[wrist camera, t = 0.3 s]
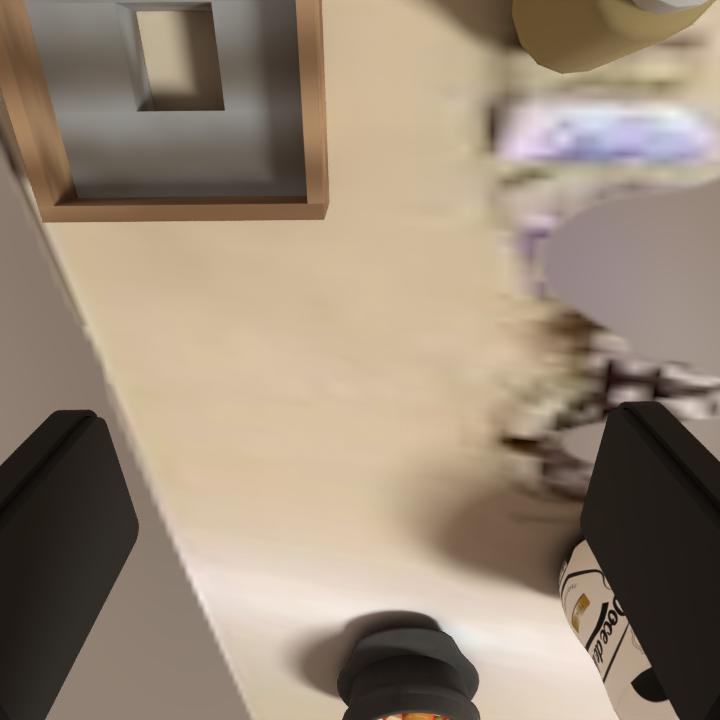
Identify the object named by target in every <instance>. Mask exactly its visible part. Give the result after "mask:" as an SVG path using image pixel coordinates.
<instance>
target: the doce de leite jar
mask: <svg viewBox="0 0 720 720" xmlns="http://www.w3.org/2000/svg"><path fill="white" fill-rule="evenodd" d="M559 592H560V598H561V602H562V606H563V610H564V613H565V615H566V618H567V620H568V623H569V625H570V627H571V629H572V630H573V632H574V634H575V635H576V637H577V638H578V640H579V641H580V642H581V644H582V645H583V646H584V648H585V649H586V650H587V652H588V653H589V655H590V656H591V658H592V659H593V661H594V663H595V665H596V667H597V669H598V671H599V673H600V676H601V678H602V681H603V683H604V686H605V688H606V691H607V694H608V696H609V699H610V701H611V704H612V706H613V709H614V711H615V712H616V714H617V716H618V717H619V719H620V720H679V718H678V717H677V715H676V713H675V711H674V709H673V707H672V705H671V703H670V701H669V699H668V697H667V695H666V693H665V692H664V690H663V688H662V686H661V684H660V682H659V680H658V678H657V676H656V674H655V672H654V670H653V668H652V666H651V665H650V663H649V661H648V659H647V657H646V655H645V653H644V651H643V649H642V647H641V645H640V643H639V641H638V639H637V638H636V636H635V634H634V632H633V630H632V628H631V626H630V624H629V622H628V620H627V618H626V616H625V614H624V612H623V611H622V609H621V607H620V605H619V603H618V601H617V599H616V597H615V595H614V593H613V591H612V589H611V587H610V585H609V584H608V582H607V580H606V578H605V576H604V574H603V572H602V570H601V568H600V566H599V564H598V562H597V560H596V558H595V557H594V555H593V553H592V551H591V549H590V547H589V545H588V543H587V541H586V539H585V538H584V539H583V540H582V541H580V542H579V543H578V544H577V545H576V546H575V547H574V548H573V549H572V550H571V551H570V553H569V554H568V555H567V557H566V558H565V560H564V561H563V564H562V566H561V571H560V575H559Z"/></svg>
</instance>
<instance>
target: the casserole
mask: <svg viewBox="0 0 720 720" xmlns="http://www.w3.org/2000/svg"><path fill="white" fill-rule="evenodd" d="M478 685H479V677H478V673H477V671H476V669H475V667H474V666H473V665H472V664H471V663H470V662H469V660H468V659H467V658H466V657H465V656H464V655H463V654H462V653H461V652H460V650H459V648H458V646H457V645H456V643H455V641H454V640H453V638H452V637H451V636H449V635H448V634H446V633H445V632H442V631H439V630H435V629H430V628H422V627H399V628H391V629H385V630H381V631H377V632H374V633H371V634H369V635H366V636H364V637H363V638H361V639H360V640H359V641H358V642H357V643H356V645H355V648H354V650H353V653H352V656H351V659H350V660H349V662H348V663H347V664H346V666H345V667H344V669H343V670H342V671H341V673H340V675H339V678H338V681H337V689H338V692H339V695H340V697H341V698H342V700H343V701H344V702H345V704H346V705H347V706H348V707H349V708H348V709H347V710H346V712H345V714H344V716H343V719H342V720H480V714H479V711H478V709H477V707H476V706H475V705H474V704H473V703H472V702H471V700H472V699H473V697H474V695H475V693H476V692H477V690H478Z"/></svg>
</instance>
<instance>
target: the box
mask: <svg viewBox="0 0 720 720" xmlns="http://www.w3.org/2000/svg"><path fill="white" fill-rule="evenodd" d="M136 11H212V12H213V20H214V28H215V36H216V44H217V51H218V59H219V67H220V75H221V83H222V91H223V99H224V107H225V110H194V111H154V106H153V101H152V95H151V90H150V85H149V79H148V74H147V69H146V63H145V58H144V53H143V47H142V42H141V37H140V31H139V26H138V21H137V15H136ZM0 88H1V91H2V94H3V98H4V101H5V104H6V107H7V110H8V113H9V117H10V120H11V123H12V126H13V129H14V132H15V136H16V139H17V142H18V145H19V148H20V151H21V155H22V158H23V161H24V164H25V167H26V170H27V174H28V177H29V180H30V183H31V186H32V190H33V193H34V196H35V199H36V202H37V205H38V209H39V212H40V215H41V218H42V221H43V222H143V221H242V220H324V219H325V215H326V212H327V209H328V205H329V180H328V154H327V128H326V102H325V75H324V49H323V23H322V0H0Z"/></svg>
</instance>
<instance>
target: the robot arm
mask: <svg viewBox="0 0 720 720" xmlns="http://www.w3.org/2000/svg"><path fill="white" fill-rule="evenodd" d="M581 529H582V533H583V535H584V537H585V539H586V541H587V543H588V545H589V547H590V549H591V551H592V553H593V555H594V557H595V558H596V560H597V562H598V564H599V566H600V568H601V570H602V572H603V574H604V576H605V578H606V580H607V582H608V584H609V585H610V587H611V589H612V591H613V593H614V595H615V597H616V599H617V601H618V603H619V605H620V607H621V609H622V611H623V612H624V614H625V616H626V618H627V620H628V622H629V624H630V626H631V628H632V630H633V632H634V634H635V636H636V638H637V639H638V641H639V643H640V645H641V647H642V649H643V651H644V653H645V655H646V657H647V659H648V661H649V663H650V665H651V666H652V668H653V670H654V672H655V674H656V676H657V678H658V680H659V682H660V684H661V686H662V688H663V690H664V692H665V693H666V695H667V697H668V699H669V701H670V703H671V705H672V707H673V709H674V711H675V713H676V715H677V717H678V718H679V720H720V462H719V461H718V460H717V459H716V458H715V457H714V456H713V455H712V454H711V453H710V452H709V451H708V450H707V449H706V448H705V447H704V446H703V445H702V444H701V443H700V442H699V441H698V440H697V439H696V438H695V437H694V436H693V435H692V434H691V433H690V432H689V431H688V430H687V429H686V428H685V427H684V426H683V425H682V424H681V423H680V422H679V421H678V420H677V419H676V418H675V417H674V416H673V415H672V414H671V413H670V412H669V411H668V410H667V409H666V408H665V407H664V406H663V405H662V404H660V403H659V402H655V401H640V402H623V403H621V404H620V405H619V406H618V408H617V410H612V411H611V412H610V413H609V415H608V418H607V422H606V425H605V429H604V433H603V436H602V440H601V444H600V447H599V451H598V455H597V458H596V462H595V465H594V469H593V473H592V476H591V480H590V484H589V487H588V491H587V495H586V498H585V502H584V506H583V509H582V513H581ZM138 530H139V524H138V519H137V516H136V513H135V510H134V507H133V504H132V501H131V498H130V495H129V491H128V489H127V485H126V482H125V479H124V476H123V473H122V470H121V467H120V464H119V461H118V457H117V454H116V451H115V448H114V446H113V442H112V439H111V436H110V433H109V430H108V427H107V424H106V422H105V420H104V419H102V418H100V417H97V415H96V414H95V413H94V412H93V411H91V410H58V411H55V412H54V413H53V414H51V415H50V416H49V417H48V418H47V419H46V420H45V421H44V422H43V423H42V424H41V425H40V426H39V427H38V428H37V429H36V430H35V432H33V433H32V434H31V435H30V436H29V437H28V438H27V439H26V440H25V441H24V442H23V443H22V444H21V445H20V446H19V447H18V448H17V450H15V451H14V453H12V455H11V456H10V457H9V458H8V459H7V460H6V461H5V462H4V463H3V464H2V465H1V466H0V720H45V719H46V717H47V714H48V713H49V711H50V709H51V707H52V705H53V703H54V701H55V699H56V697H57V695H58V693H59V691H60V689H61V687H62V685H63V683H64V681H65V679H66V677H67V676H68V674H69V672H70V670H71V668H72V666H73V664H74V662H75V659H76V658H77V656H78V654H79V652H80V650H81V648H82V646H83V644H84V642H85V640H86V638H87V636H88V634H89V632H90V630H91V628H92V626H93V625H94V623H95V621H96V619H97V617H98V615H99V613H100V610H101V609H102V607H103V605H104V603H105V601H106V599H107V597H108V595H109V593H110V591H111V589H112V587H113V585H114V583H115V581H116V579H117V577H118V575H119V574H120V572H121V569H122V567H123V566H124V564H125V562H126V560H127V558H128V556H129V554H130V552H131V550H132V548H133V546H134V544H135V542H136V540H137V536H138Z"/></svg>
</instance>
